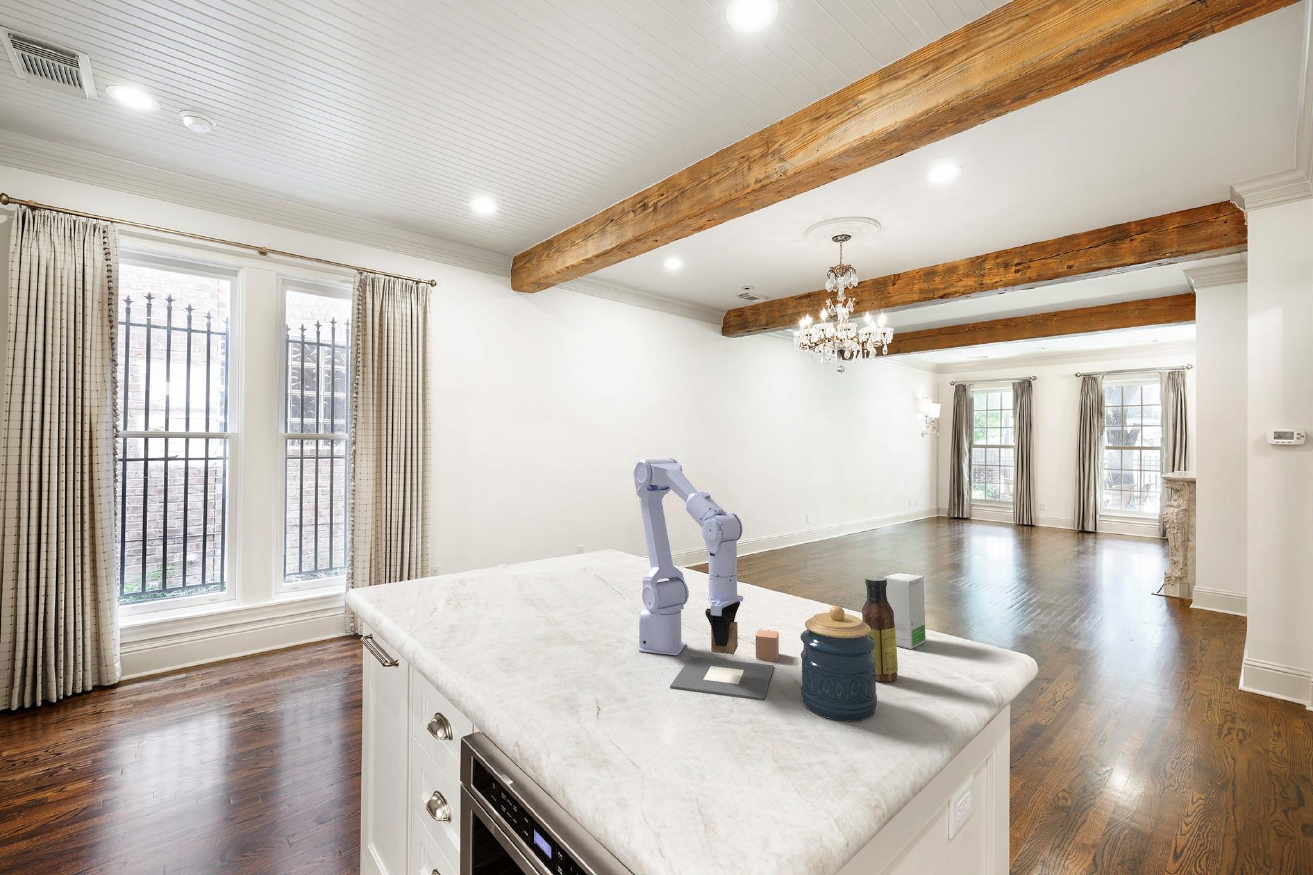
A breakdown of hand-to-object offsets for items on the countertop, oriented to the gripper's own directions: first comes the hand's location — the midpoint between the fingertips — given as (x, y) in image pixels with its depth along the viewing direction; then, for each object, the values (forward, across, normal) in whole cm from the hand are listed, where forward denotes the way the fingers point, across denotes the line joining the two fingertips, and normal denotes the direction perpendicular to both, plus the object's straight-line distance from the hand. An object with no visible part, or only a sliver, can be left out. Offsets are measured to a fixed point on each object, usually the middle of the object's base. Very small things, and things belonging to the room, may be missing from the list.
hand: (723, 641), depth 112 cm
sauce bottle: (+7, +9, -30) cm, 32 cm away
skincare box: (+7, +32, -37) cm, 49 cm away
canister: (+8, -6, -22) cm, 24 cm away
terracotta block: (+7, +14, -7) cm, 17 cm away
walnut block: (+2, 0, 0) cm, 2 cm away
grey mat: (+7, 0, 0) cm, 7 cm away
